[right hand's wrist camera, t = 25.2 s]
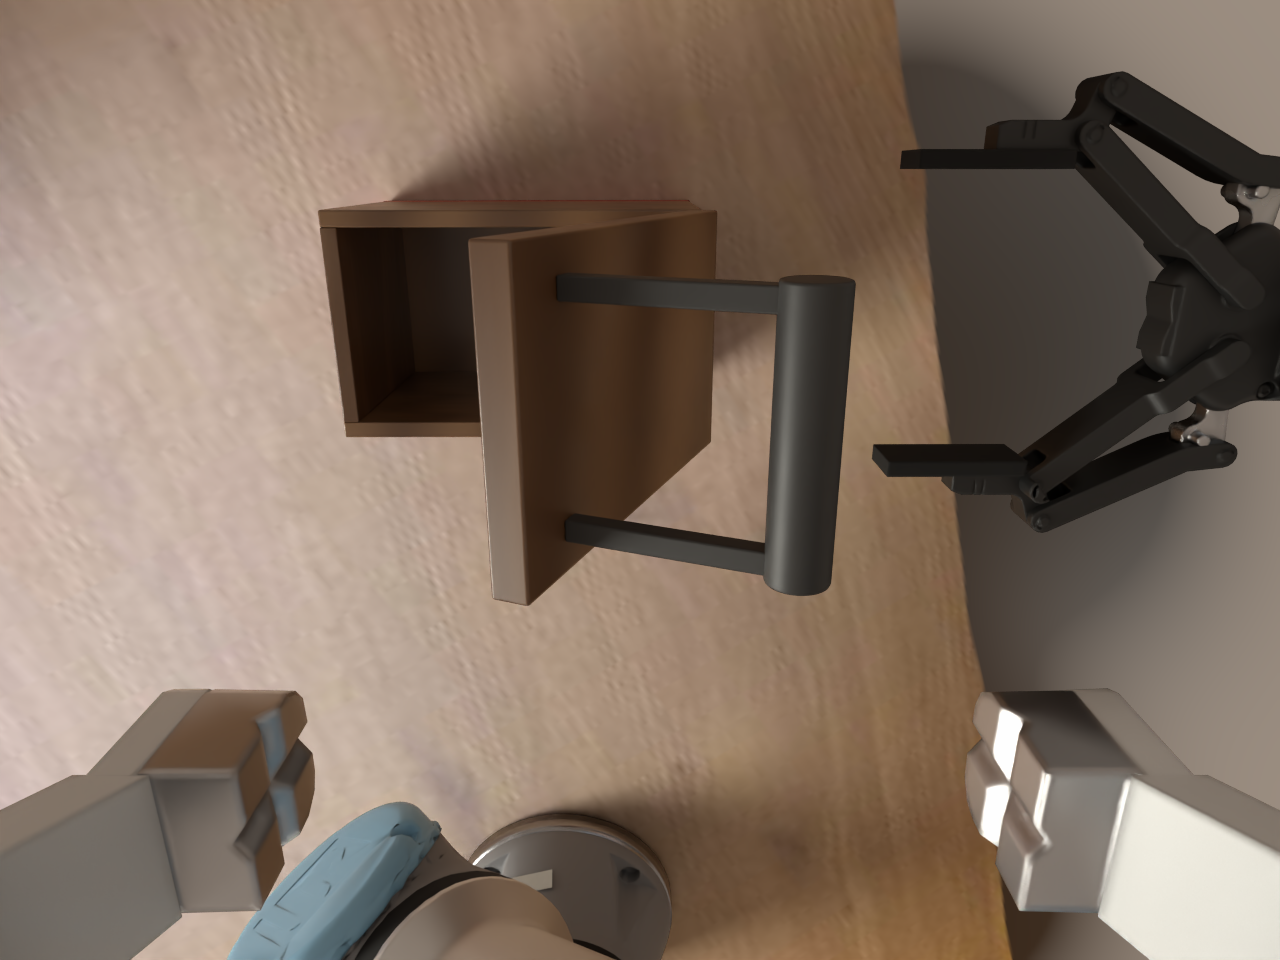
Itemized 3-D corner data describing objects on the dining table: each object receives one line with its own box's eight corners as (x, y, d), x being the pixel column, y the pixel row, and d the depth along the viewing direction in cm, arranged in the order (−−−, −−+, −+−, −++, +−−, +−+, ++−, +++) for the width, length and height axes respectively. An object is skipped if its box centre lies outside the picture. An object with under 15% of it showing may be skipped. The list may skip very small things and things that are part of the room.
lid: (490, 599, 24) (807, 665, 21) (466, 238, 21) (839, 250, 18) (685, 439, 38) (891, 463, 35) (689, 209, 35) (917, 213, 32)
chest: (407, 381, 49) (345, 437, 39) (390, 200, 46) (316, 209, 35) (685, 380, 49) (697, 437, 39) (688, 200, 46) (702, 209, 35)
